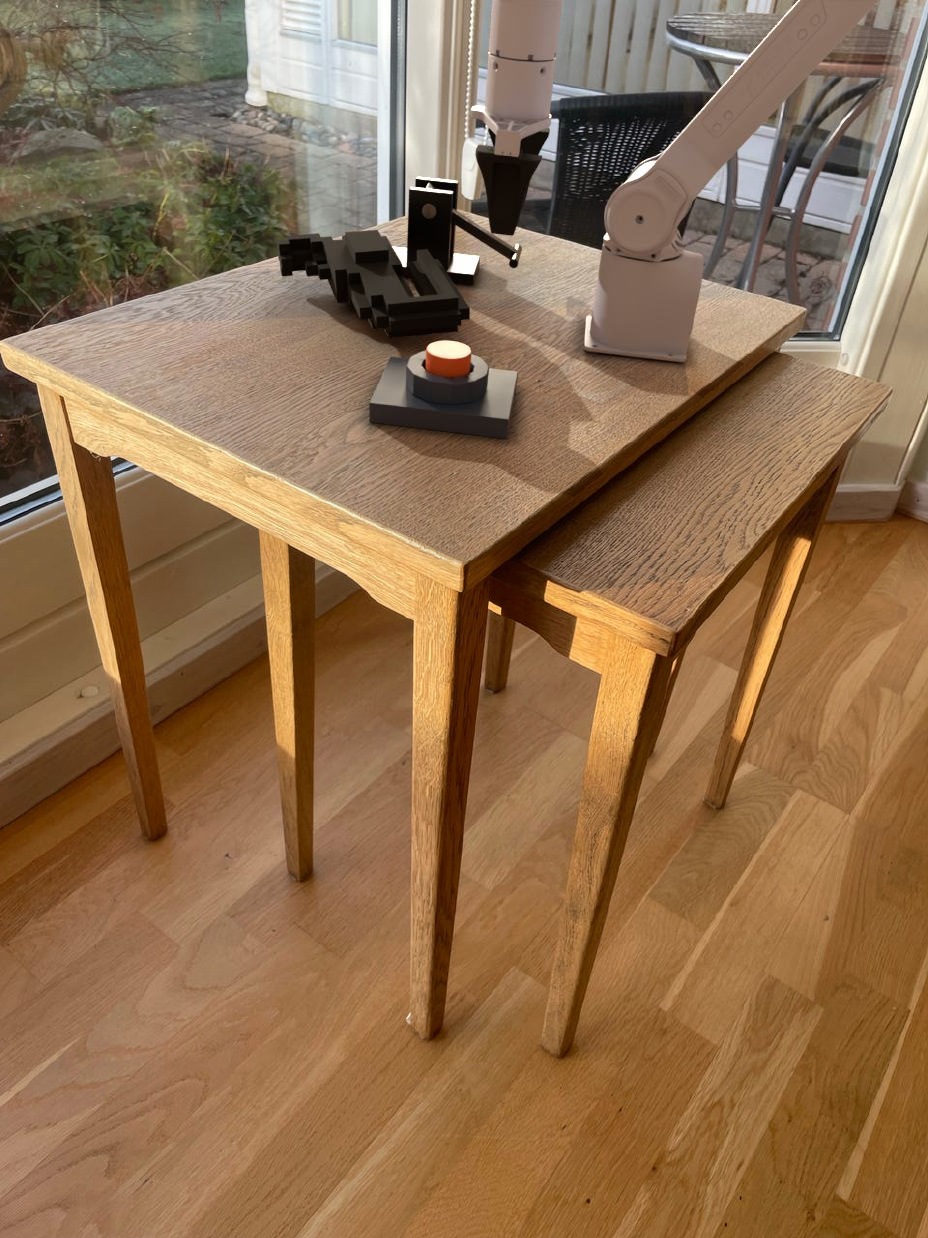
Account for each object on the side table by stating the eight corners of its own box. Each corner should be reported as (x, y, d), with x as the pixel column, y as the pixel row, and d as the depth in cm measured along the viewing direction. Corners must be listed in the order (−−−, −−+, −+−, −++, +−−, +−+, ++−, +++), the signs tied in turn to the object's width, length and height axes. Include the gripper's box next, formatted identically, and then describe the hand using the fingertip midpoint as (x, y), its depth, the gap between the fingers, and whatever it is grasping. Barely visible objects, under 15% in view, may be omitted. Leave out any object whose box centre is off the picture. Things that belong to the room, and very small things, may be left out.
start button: (472, 363, 81) (474, 342, 80) (467, 382, 78) (468, 361, 77) (429, 358, 81) (430, 337, 80) (422, 376, 78) (423, 355, 77)
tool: (302, 305, 83) (473, 289, 86) (273, 221, 98) (420, 211, 101) (308, 363, 87) (472, 346, 90) (279, 274, 102) (420, 262, 105)
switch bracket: (479, 266, 108) (486, 182, 102) (472, 285, 103) (479, 198, 98) (389, 256, 108) (391, 171, 103) (378, 275, 104) (380, 187, 98)
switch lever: (515, 260, 107) (527, 241, 105) (511, 276, 103) (523, 256, 101) (419, 199, 104) (430, 178, 102) (412, 212, 100) (423, 191, 99)
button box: (516, 389, 85) (520, 351, 82) (506, 439, 78) (511, 398, 75) (389, 374, 85) (390, 335, 83) (369, 422, 78) (369, 381, 76)
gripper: (485, 37, 89) (474, 194, 98) (463, 64, 78) (453, 239, 86) (563, 45, 89) (545, 202, 97) (552, 73, 77) (532, 249, 86)
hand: (506, 220), depth 92 cm, fingers open, 7 cm apart
